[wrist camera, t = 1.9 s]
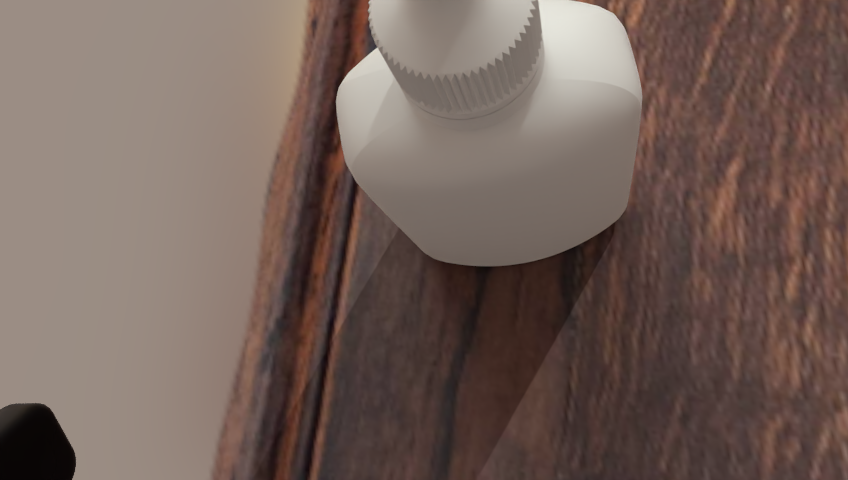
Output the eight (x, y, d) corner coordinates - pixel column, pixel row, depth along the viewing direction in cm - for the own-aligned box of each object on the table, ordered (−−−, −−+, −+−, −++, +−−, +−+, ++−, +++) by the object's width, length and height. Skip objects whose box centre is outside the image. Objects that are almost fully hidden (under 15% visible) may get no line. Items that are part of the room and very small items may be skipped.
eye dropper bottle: (446, 108, 22) (288, -234, 10) (643, 154, 20) (709, -185, 9) (398, 251, 21) (172, 54, 10) (597, 309, 20) (606, 158, 8)
